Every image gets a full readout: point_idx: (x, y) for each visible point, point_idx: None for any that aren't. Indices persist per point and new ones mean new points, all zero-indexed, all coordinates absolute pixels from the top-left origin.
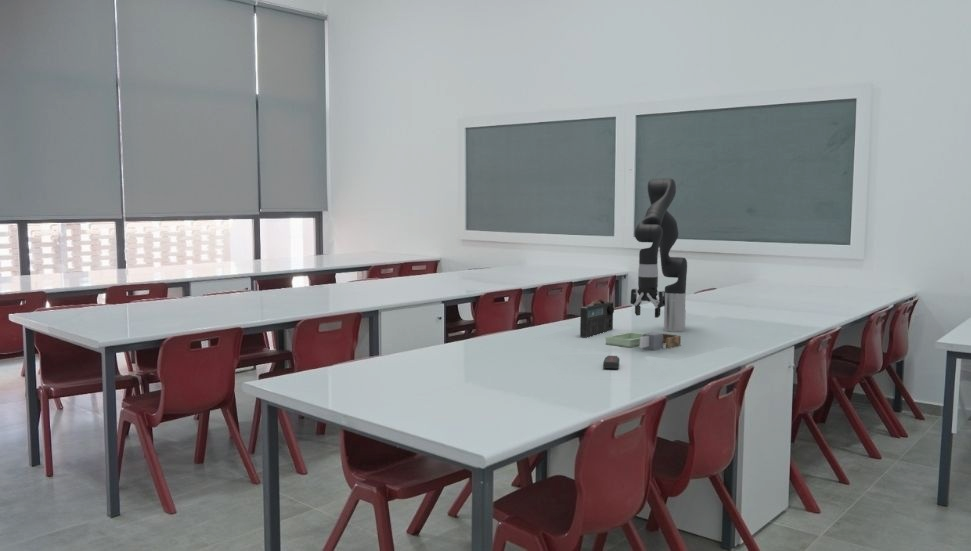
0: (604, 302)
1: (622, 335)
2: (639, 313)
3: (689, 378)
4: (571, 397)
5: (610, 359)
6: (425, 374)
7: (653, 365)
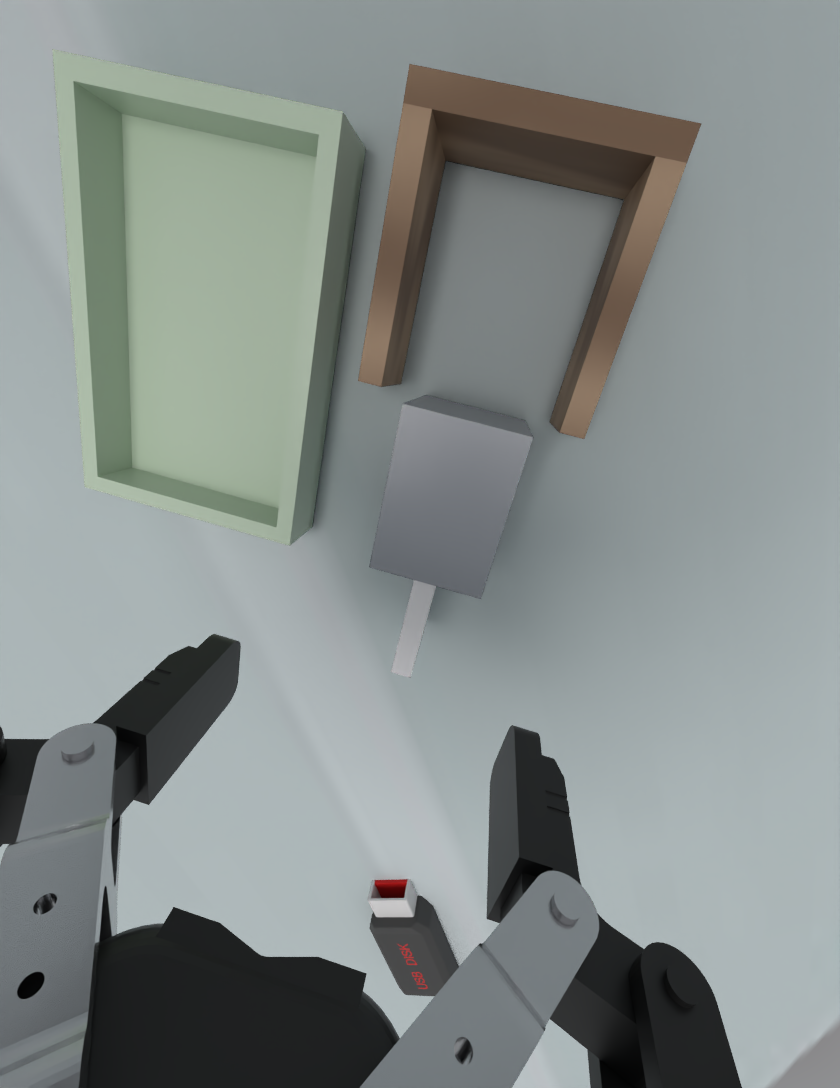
0: None
1: (93, 254)
2: (226, 667)
3: (778, 1074)
4: None
5: (413, 974)
6: None
7: None
